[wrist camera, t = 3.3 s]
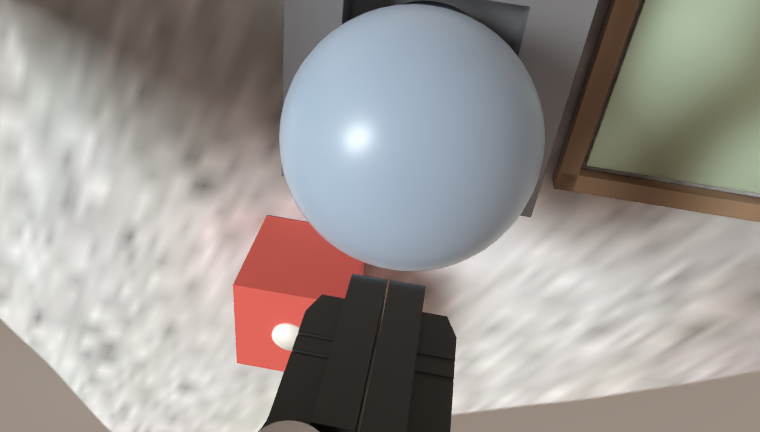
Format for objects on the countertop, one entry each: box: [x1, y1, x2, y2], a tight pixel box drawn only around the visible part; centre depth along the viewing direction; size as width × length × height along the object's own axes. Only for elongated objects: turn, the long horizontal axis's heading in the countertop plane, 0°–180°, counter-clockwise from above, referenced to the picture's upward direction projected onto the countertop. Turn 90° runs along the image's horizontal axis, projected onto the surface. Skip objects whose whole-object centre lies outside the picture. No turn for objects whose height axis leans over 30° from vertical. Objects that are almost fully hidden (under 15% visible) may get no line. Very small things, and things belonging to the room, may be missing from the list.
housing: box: [282, 0, 598, 217], centre depth 23 cm, size 10×10×3 cm
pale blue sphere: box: [279, 0, 545, 271], centre depth 19 cm, size 8×8×9 cm
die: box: [233, 215, 365, 371], centre depth 30 cm, size 5×5×5 cm
